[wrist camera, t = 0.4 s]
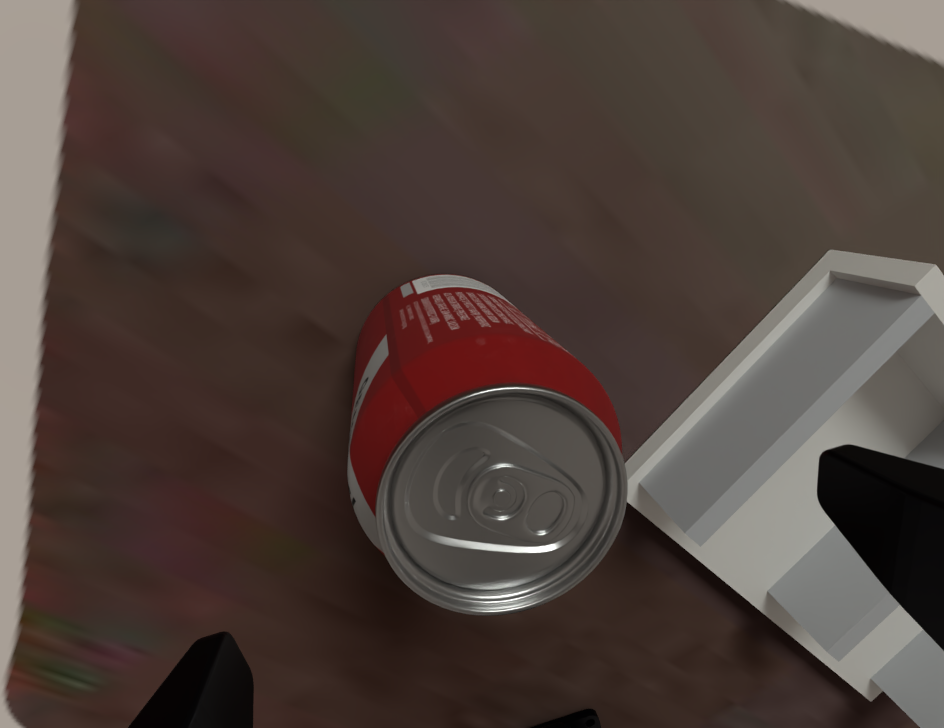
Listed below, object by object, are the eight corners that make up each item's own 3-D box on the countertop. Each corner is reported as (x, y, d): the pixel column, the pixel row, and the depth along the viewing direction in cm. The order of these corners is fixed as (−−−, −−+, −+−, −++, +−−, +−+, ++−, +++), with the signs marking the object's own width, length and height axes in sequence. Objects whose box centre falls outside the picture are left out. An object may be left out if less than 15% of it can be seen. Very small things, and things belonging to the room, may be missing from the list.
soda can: (397, 241, 22) (426, 302, 11) (549, 311, 24) (710, 425, 13) (330, 397, 23) (294, 595, 12) (479, 451, 25) (568, 668, 14)
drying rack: (857, 687, 34) (935, 769, 29) (607, 481, 27) (657, 545, 22) (1043, 515, 32) (1159, 572, 27) (829, 249, 25) (935, 264, 21)
